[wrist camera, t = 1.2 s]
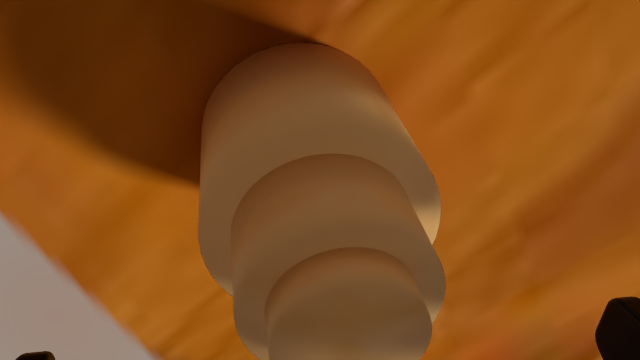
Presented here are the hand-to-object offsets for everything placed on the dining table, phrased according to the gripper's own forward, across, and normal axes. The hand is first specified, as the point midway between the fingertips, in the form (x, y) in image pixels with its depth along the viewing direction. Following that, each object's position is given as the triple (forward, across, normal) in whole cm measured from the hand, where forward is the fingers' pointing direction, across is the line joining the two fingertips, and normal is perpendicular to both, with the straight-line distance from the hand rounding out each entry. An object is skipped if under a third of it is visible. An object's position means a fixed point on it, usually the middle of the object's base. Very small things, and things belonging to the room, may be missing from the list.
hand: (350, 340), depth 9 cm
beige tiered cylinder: (+7, 0, 0) cm, 7 cm away
